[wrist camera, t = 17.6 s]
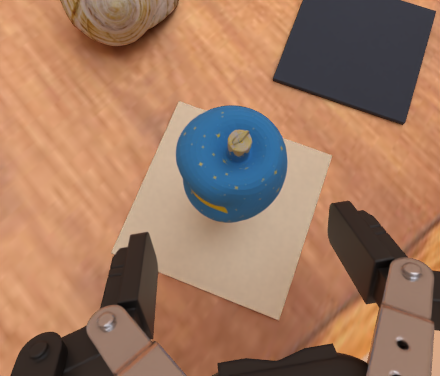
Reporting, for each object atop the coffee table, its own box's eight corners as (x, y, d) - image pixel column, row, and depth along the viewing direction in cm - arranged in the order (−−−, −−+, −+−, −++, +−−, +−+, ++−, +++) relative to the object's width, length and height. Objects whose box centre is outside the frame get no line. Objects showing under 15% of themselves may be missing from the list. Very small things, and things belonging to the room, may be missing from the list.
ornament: (183, 195, 26) (136, 116, 12) (234, 161, 27) (251, 46, 12) (218, 249, 25) (216, 235, 11) (271, 212, 26) (337, 153, 11)
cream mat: (330, 156, 27) (332, 155, 27) (278, 319, 25) (279, 320, 24) (179, 102, 29) (178, 100, 28) (112, 253, 26) (110, 253, 25)
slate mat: (433, 14, 30) (436, 11, 30) (402, 125, 28) (405, 123, 28) (312, -24, 31) (313, -27, 31) (272, 80, 29) (273, 78, 29)
